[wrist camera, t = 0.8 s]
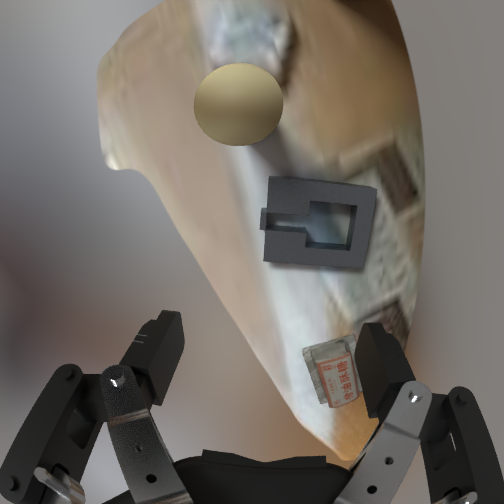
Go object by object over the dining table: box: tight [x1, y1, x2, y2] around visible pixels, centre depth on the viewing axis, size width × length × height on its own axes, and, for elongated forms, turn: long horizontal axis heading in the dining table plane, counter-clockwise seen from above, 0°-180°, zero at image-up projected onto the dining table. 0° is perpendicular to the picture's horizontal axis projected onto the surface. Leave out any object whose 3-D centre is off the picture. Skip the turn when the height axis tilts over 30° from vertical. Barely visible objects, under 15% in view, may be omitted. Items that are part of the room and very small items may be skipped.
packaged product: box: [303, 334, 362, 408], centre depth 47 cm, size 18×5×10 cm
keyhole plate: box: [260, 176, 377, 268], centre depth 36 cm, size 12×15×2 cm
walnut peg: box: [194, 63, 283, 146], centre depth 25 cm, size 6×6×18 cm
